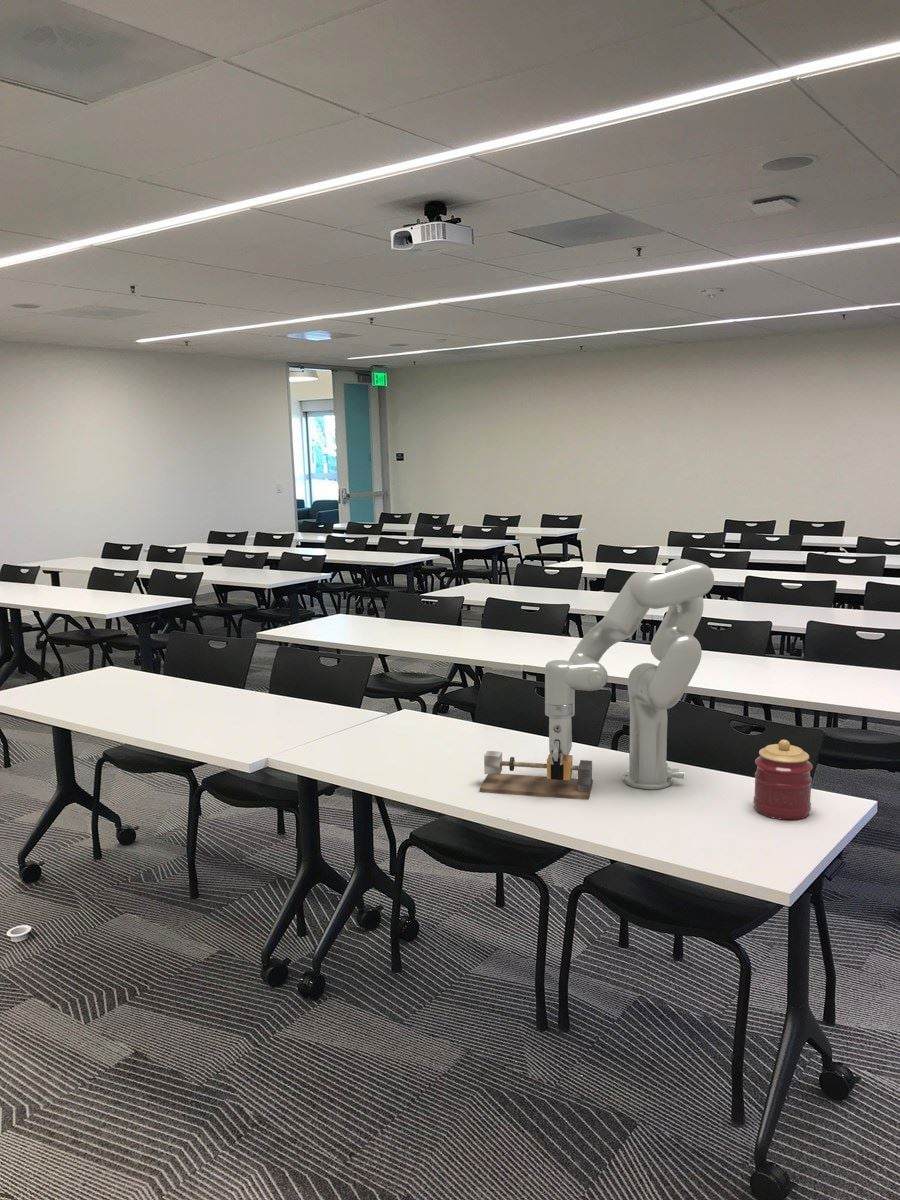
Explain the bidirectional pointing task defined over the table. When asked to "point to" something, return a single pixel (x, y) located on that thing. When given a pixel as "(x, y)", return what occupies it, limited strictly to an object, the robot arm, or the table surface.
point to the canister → (783, 781)
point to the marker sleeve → (567, 766)
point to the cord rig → (534, 779)
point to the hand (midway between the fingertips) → (559, 772)
